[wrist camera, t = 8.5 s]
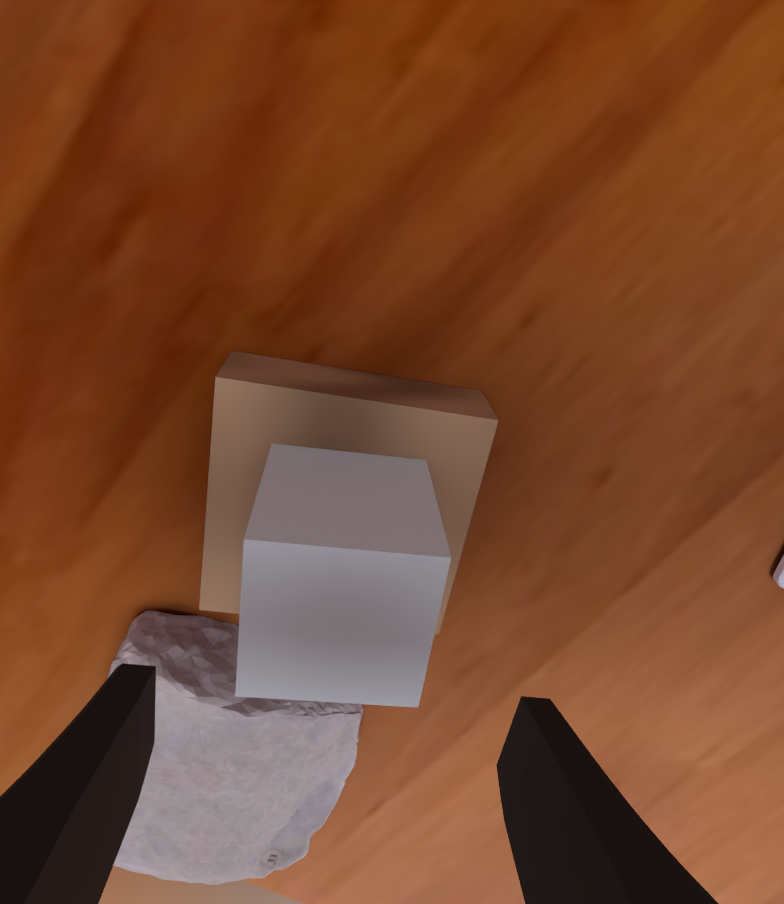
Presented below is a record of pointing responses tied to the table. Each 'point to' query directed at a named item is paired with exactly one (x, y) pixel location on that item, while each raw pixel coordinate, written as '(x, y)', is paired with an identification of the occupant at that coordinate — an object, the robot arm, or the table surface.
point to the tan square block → (333, 447)
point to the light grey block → (340, 579)
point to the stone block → (227, 761)
